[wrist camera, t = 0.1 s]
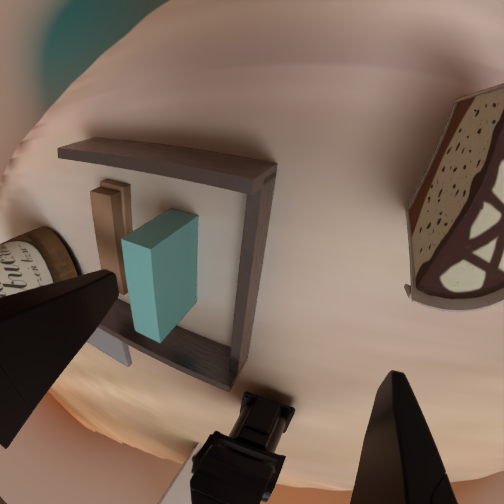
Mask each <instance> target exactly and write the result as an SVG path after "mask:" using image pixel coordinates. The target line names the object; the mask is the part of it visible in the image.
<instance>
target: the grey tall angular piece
mask: <svg viewBox="0 0 504 504" xmlns="http://www.w3.org/2000/svg"><path fill="white" fill-rule="evenodd" d="M202 446H203V445H202V444H200V443H198V445H197V446H196V448H195V449H194V448H193V449H192V451H191V452H190V454H189V456H188V457H187V459H186V460H185V462H184V464H183V465H182V467H181V468H180V470H179V472H178V473H177V475H176V476H175V478H174V479H173V481H172V482H171V484H170V485H169V487H168V489H167V490H166V492H165V493H164V495H163V496H162V498H161V499H160V501H159V502H158V504H192V502H191V491H190V480H191V478H192V476H193V474H192V473H191V470H192V466H193V462H192V460H191V459H192V457H193V456H194V455H195V454H196V453H197V452H198V451H199V450H200V448H201V447H202Z"/></svg>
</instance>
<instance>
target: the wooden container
mask: <svg viewBox="0 0 504 504" xmlns="http://www.w3.org/2000/svg"><path fill="white" fill-rule="evenodd" d="M77 276H78V275H77V272H76V269H75V267H74V264H73V262H72V260H71V257H70V255H69V253H68V252H67V250H66V248H65V246H64V245H63V243H62V242H61V240H60V239H59V238H58V237H57V235H56V234H55V233H54V232H53V231H51V230H50V229H48V228H46V227H40V228H38V229H35V230H33V231H30V232H27V233H25V234H23V235H20V236H17V237H15V238H12V239H10V240H8V241H6V242H4V243H1V244H0V297H4V296H8V295H11V294H16V293H18V292H22V291H25V290H29V289H33V288H36V287H40V286H44V285H47V284H51V283H55V282H58V281H62V280H66V279H69V278H73V277H77Z"/></svg>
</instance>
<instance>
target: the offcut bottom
mask: <svg viewBox="0 0 504 504" xmlns="http://www.w3.org/2000/svg"><path fill="white" fill-rule="evenodd" d="M100 187H104V188H109V189H113V190H118V191H121V200H122V213H123V223H124V233H125V236H126V235H128V234H130V233H131V232H133V230H132V214H131V190H130V184H126V183H121V182H117V181H112V180H108V179H106V180H103V181H101V182H100Z"/></svg>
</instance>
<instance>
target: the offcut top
mask: <svg viewBox="0 0 504 504" xmlns="http://www.w3.org/2000/svg"><path fill="white" fill-rule="evenodd" d="M90 196H91V205H92V213H93V220H94V228H95V234H96V241H97V247H98V253H99V258H100V264H101V269H102V270H103V269H107V270H110V271H112V272H114V273H115V274H116V276H117V282H118V288H119V293H121V294H123V295H125V294H126V293H127V292H128V287H127V281H126V274H125V266H124V259H123V250H122V242H121V239H122V238H123V237H125V233H124V223H123V213H122V200H121V191H118V190H113V189H109V188H104V187H98V188H96V189H94V190H92V191H90Z"/></svg>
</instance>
